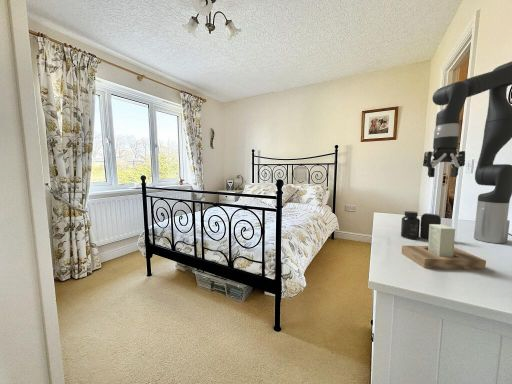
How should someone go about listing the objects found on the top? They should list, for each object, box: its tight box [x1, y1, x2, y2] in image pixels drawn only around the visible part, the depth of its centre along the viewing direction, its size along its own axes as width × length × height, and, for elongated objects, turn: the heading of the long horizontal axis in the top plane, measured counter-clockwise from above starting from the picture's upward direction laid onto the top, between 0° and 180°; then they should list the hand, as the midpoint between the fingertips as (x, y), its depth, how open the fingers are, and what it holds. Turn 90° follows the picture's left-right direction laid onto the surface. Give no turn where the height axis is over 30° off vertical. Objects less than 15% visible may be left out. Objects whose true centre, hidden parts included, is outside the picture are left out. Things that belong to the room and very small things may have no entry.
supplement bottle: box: [400, 210, 421, 240], centre depth 98 cm, size 7×7×12 cm
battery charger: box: [419, 212, 442, 240], centre depth 96 cm, size 7×4×11 cm, turn 46°
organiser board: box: [401, 245, 487, 271], centre depth 73 cm, size 18×12×3 cm, turn 86°
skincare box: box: [427, 223, 456, 257], centre depth 72 cm, size 6×4×12 cm
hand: (442, 177), depth 87 cm, fingers open, 8 cm apart
